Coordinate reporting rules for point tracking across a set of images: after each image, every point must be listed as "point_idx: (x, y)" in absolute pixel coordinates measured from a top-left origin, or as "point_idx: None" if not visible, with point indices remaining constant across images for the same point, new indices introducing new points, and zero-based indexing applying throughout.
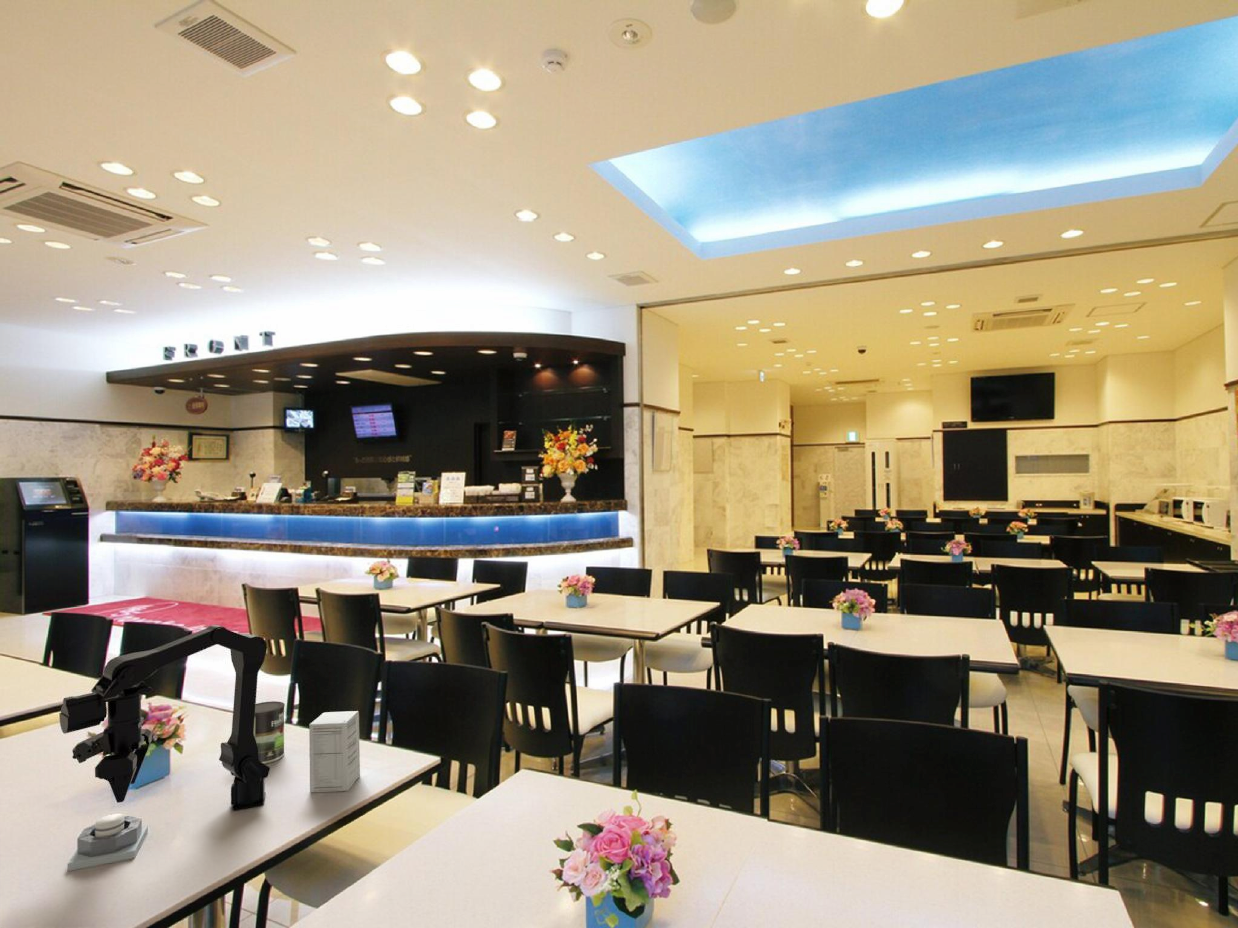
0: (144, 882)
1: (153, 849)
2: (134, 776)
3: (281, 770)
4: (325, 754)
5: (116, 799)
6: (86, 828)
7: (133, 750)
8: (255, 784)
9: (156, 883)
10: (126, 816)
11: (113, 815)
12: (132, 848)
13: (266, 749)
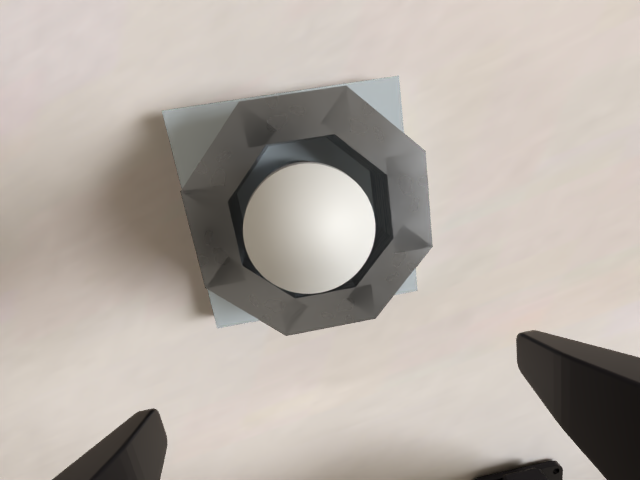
0: (44, 411)
1: (270, 349)
2: (560, 408)
3: None
4: None
5: (114, 433)
6: (350, 95)
7: None
8: None
9: (33, 447)
10: (426, 239)
11: (357, 228)
12: (238, 312)
13: None
